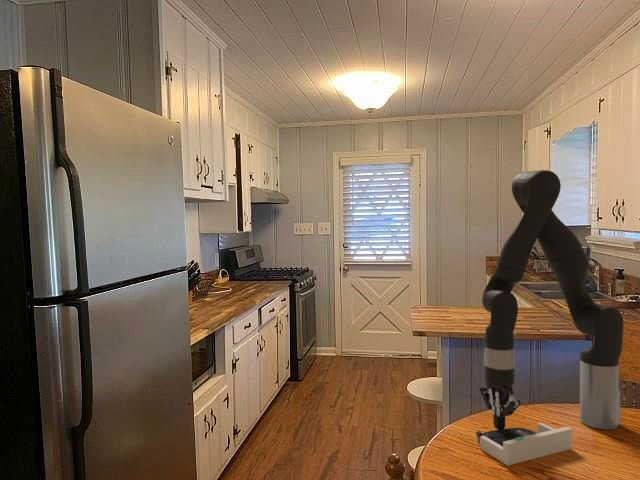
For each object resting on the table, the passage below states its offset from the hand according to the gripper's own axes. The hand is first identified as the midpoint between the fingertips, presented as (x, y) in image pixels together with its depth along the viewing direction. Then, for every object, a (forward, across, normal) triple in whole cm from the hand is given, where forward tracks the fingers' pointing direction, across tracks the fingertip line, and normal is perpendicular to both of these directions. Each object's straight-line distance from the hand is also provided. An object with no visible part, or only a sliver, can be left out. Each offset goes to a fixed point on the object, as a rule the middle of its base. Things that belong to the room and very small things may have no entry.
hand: (499, 428), depth 126 cm
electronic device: (+2, -6, +1) cm, 6 cm away
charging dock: (+1, -9, 0) cm, 9 cm away
